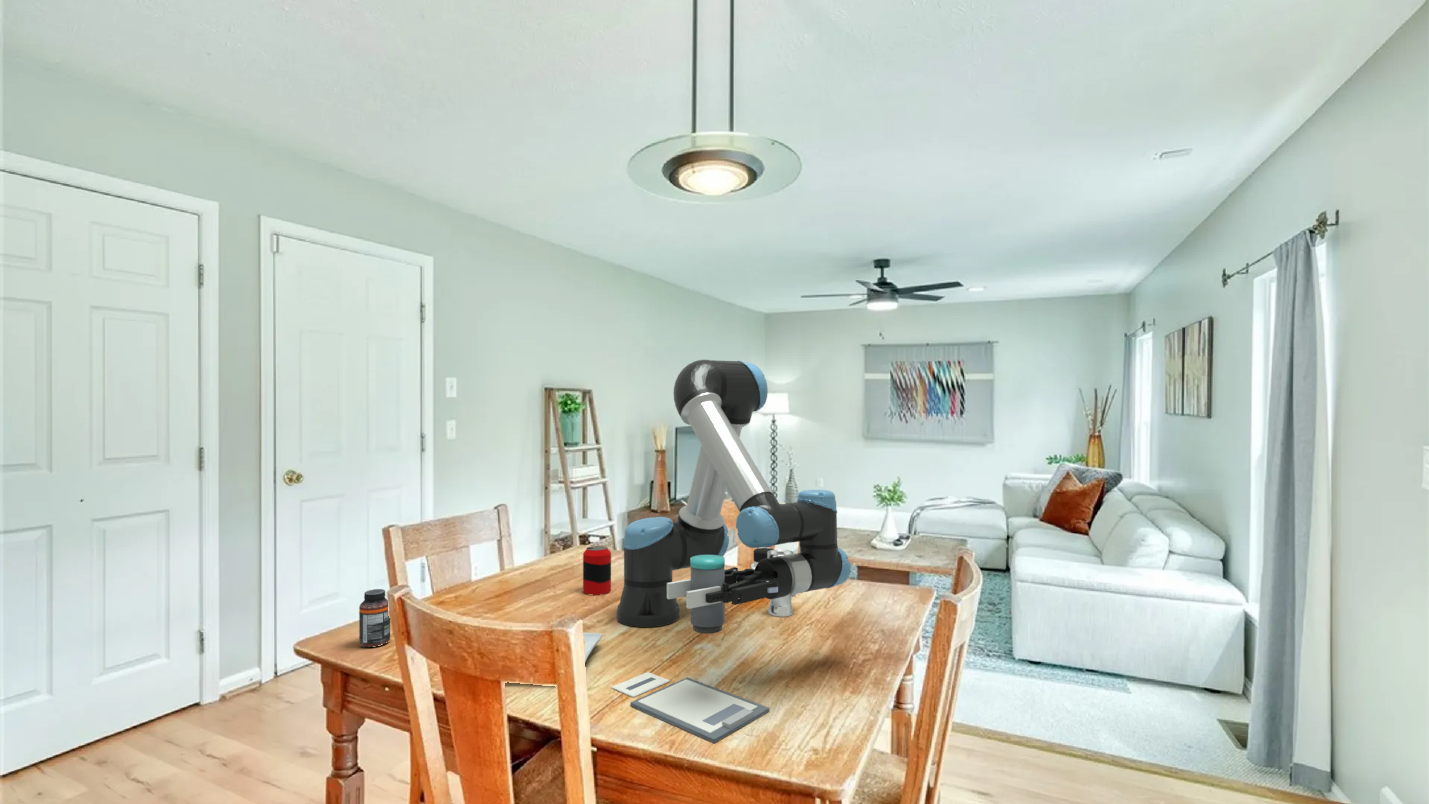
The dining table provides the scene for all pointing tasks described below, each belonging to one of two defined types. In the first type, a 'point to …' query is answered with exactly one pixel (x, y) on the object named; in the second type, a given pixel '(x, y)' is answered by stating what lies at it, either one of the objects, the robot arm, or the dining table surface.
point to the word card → (640, 684)
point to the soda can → (597, 570)
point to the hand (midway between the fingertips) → (677, 595)
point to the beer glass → (783, 604)
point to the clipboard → (700, 709)
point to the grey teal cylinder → (707, 575)
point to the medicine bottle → (759, 555)
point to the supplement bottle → (374, 619)
